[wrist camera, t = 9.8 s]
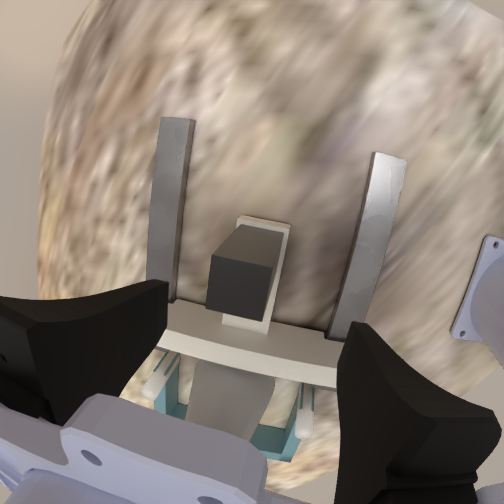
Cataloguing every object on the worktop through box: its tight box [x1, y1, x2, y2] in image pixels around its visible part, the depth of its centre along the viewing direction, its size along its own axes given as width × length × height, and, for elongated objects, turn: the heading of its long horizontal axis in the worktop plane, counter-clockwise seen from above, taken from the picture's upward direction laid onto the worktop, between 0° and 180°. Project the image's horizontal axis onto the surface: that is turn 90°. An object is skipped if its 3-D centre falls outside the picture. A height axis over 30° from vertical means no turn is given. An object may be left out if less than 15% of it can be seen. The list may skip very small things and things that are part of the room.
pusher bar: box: [156, 215, 344, 388], centre depth 18 cm, size 15×8×8 cm, turn 80°
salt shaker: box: [185, 359, 275, 441], centre depth 18 cm, size 6×6×13 cm
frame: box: [141, 350, 314, 462], centre depth 23 cm, size 12×7×5 cm, turn 81°
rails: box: [146, 117, 407, 392], centre depth 21 cm, size 15×17×1 cm
